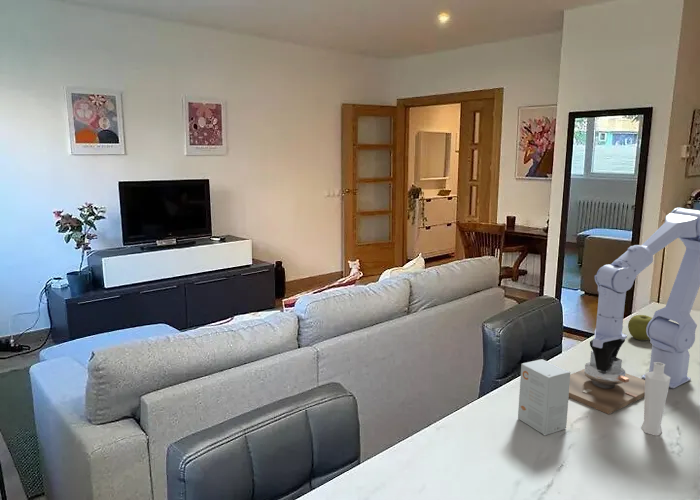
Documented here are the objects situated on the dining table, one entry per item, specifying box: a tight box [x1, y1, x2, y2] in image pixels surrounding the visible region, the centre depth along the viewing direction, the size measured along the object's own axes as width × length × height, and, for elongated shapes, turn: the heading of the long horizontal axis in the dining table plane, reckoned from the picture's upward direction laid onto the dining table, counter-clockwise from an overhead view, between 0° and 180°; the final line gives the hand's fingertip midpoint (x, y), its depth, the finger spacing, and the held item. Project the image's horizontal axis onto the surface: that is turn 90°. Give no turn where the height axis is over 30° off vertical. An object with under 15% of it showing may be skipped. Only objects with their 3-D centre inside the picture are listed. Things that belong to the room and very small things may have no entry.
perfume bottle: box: [640, 362, 671, 436], centre depth 111 cm, size 5×4×15 cm
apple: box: [627, 314, 653, 341], centre depth 165 cm, size 8×8×7 cm
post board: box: [569, 368, 645, 415], centre depth 131 cm, size 22×16×3 cm
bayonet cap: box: [584, 350, 629, 384], centre depth 130 cm, size 11×9×6 cm
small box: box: [517, 358, 571, 436], centre depth 114 cm, size 8×6×13 cm
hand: (604, 367), depth 130 cm, fingers closed on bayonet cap, 4 cm apart
